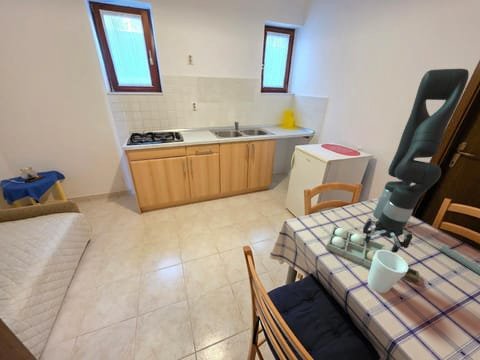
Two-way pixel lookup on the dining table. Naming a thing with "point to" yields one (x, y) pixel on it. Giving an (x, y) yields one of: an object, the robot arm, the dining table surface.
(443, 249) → the kitchen whisk
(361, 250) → the egg carton
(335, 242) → the cream egg
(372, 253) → the beige sphere
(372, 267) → the foam cup
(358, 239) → the cream egg
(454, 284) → the dining table surface
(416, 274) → the egg stand
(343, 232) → the cream egg
